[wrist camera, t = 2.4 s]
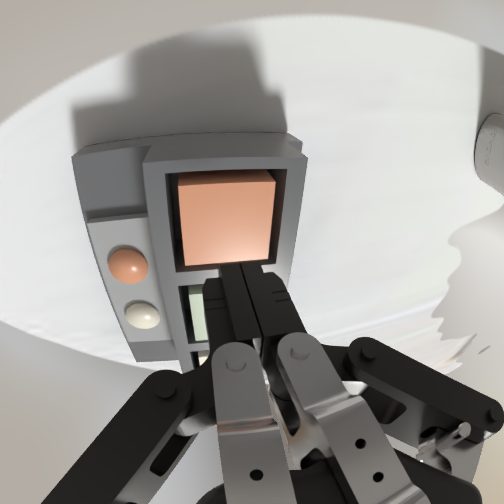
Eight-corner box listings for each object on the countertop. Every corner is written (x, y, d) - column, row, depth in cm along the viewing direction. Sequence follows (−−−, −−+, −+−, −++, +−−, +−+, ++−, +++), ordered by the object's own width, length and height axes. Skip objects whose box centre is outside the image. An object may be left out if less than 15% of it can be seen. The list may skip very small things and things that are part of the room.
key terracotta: (265, 168, 15) (275, 181, 13) (259, 239, 17) (267, 258, 16) (179, 172, 14) (178, 186, 12) (184, 245, 16) (185, 265, 15)
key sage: (257, 267, 19) (264, 287, 17) (253, 313, 21) (259, 333, 20) (187, 273, 18) (188, 294, 16) (193, 320, 20) (195, 340, 19)
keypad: (289, 133, 18) (327, 158, 13) (265, 331, 30) (279, 377, 25) (84, 146, 15) (47, 178, 10) (137, 342, 27) (135, 391, 22)
